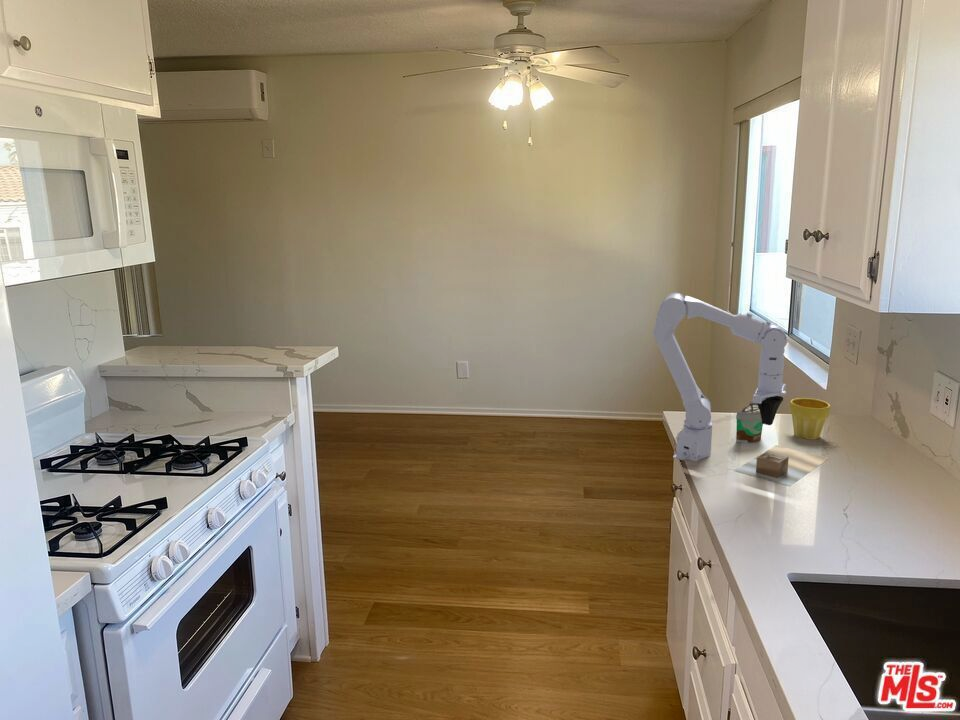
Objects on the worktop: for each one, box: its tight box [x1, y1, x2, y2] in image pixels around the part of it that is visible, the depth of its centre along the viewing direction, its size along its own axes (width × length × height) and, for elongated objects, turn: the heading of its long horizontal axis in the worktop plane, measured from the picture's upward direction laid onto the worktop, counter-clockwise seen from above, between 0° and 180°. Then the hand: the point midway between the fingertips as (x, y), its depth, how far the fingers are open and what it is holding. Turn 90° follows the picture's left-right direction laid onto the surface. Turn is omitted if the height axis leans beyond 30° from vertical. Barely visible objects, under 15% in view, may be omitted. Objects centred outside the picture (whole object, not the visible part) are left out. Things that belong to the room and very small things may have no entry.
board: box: [733, 445, 830, 487], centre depth 183 cm, size 24×14×1 cm, turn 134°
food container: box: [735, 400, 764, 444], centre depth 201 cm, size 12×6×10 cm, turn 143°
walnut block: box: [756, 451, 789, 478], centre depth 178 cm, size 6×6×4 cm
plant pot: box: [789, 397, 831, 440], centre depth 204 cm, size 10×10×10 cm
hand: (767, 423), depth 185 cm, fingers closed
